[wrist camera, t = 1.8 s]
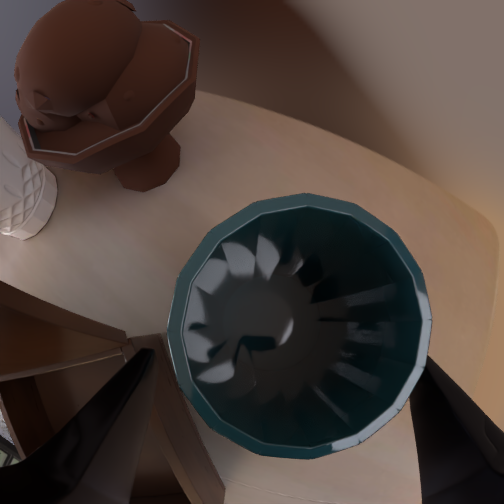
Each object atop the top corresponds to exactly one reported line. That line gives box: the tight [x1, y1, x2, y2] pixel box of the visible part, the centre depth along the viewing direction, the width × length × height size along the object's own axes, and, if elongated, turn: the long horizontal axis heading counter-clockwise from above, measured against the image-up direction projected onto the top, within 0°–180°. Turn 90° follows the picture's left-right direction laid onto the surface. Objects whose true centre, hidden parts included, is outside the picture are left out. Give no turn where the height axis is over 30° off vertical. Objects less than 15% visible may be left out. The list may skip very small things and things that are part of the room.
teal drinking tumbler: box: [167, 193, 432, 460], centre depth 12 cm, size 7×7×12 cm
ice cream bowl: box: [14, 0, 200, 192], centre depth 13 cm, size 11×11×15 cm
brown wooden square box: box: [0, 334, 226, 504], centre depth 14 cm, size 12×12×5 cm
